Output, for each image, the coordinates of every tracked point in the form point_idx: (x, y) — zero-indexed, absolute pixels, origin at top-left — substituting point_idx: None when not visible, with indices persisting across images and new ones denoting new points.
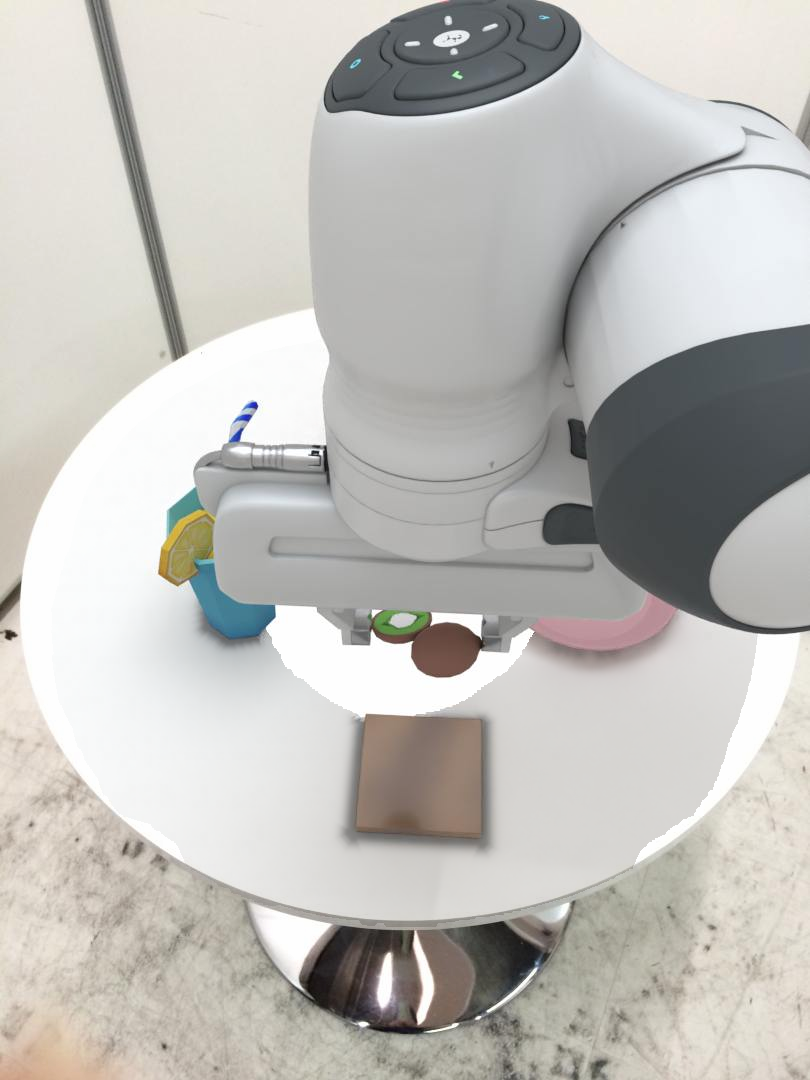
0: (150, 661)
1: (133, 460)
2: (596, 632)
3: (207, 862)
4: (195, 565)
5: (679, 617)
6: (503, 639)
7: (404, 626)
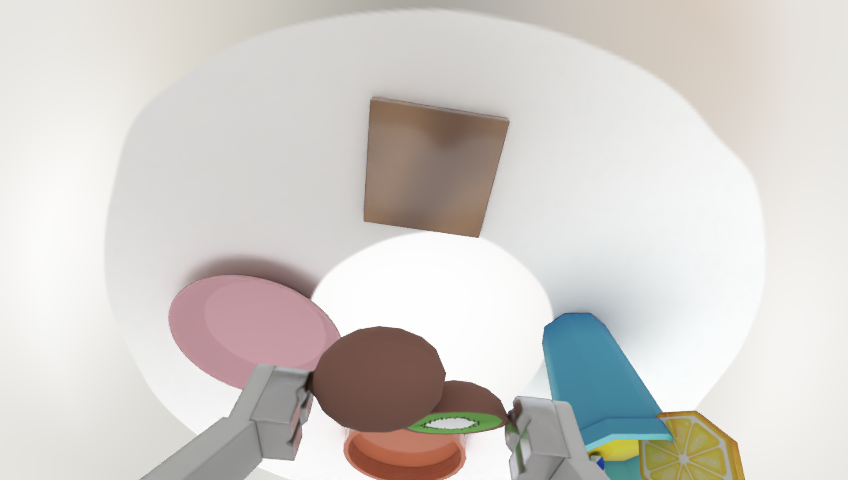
0: (668, 301)
1: None
2: (252, 288)
3: (676, 98)
4: (667, 428)
5: (178, 292)
6: (249, 410)
7: (449, 418)
